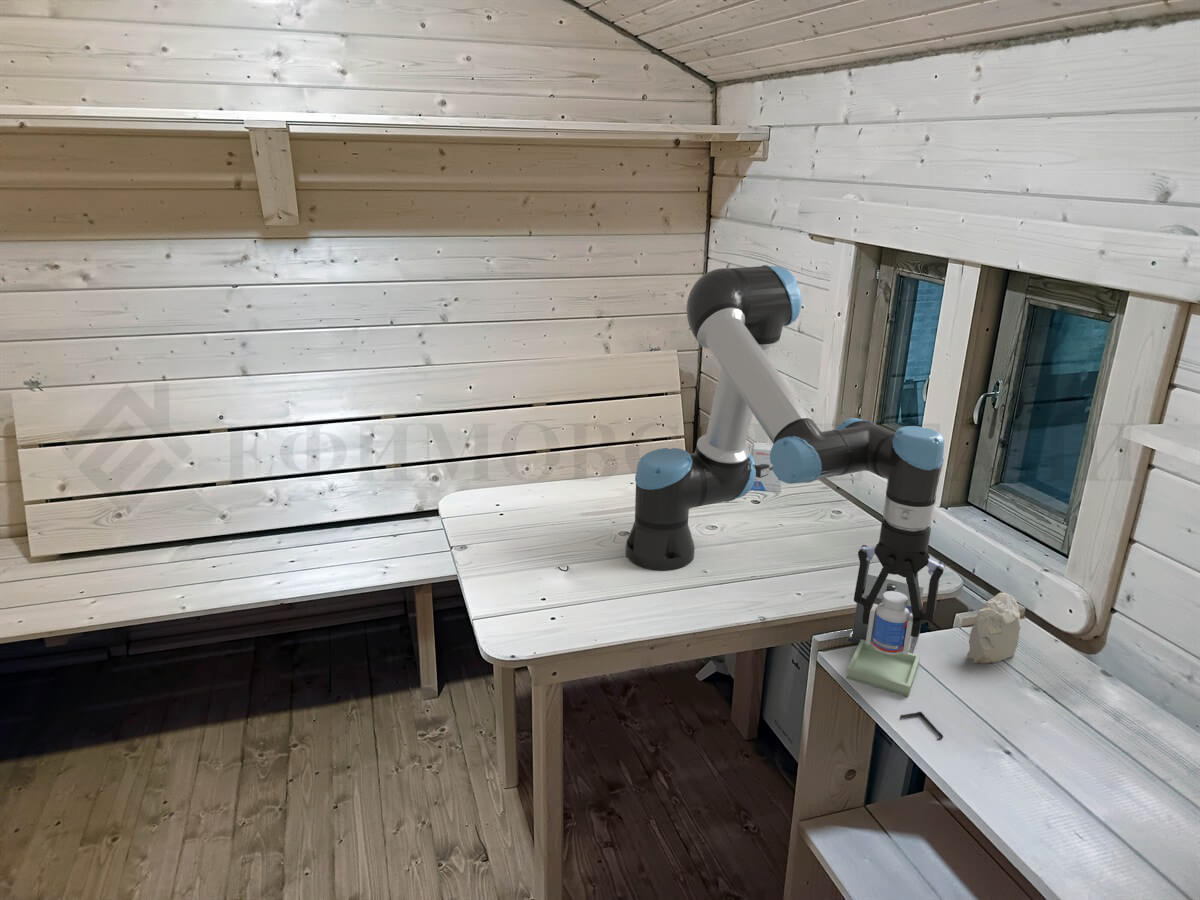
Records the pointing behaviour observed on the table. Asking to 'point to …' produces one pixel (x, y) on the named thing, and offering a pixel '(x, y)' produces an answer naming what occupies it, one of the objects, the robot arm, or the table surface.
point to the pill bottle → (890, 623)
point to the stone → (995, 630)
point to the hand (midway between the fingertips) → (887, 645)
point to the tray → (883, 669)
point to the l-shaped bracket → (924, 719)
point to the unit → (888, 585)
